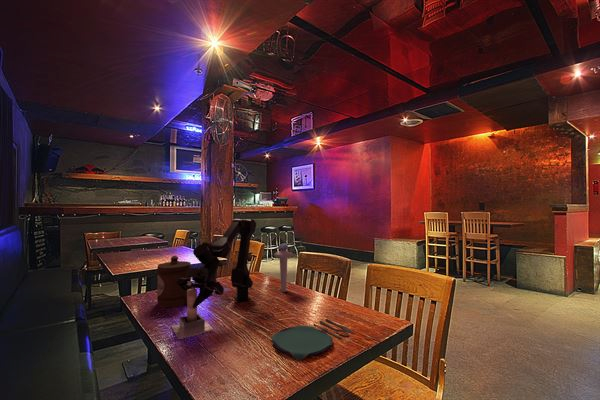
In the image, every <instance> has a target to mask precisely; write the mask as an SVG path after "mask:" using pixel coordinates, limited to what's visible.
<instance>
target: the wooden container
mask: <svg viewBox="0 0 600 400" xmlns="http://www.w3.org/2000/svg"><path fill="white" fill-rule="evenodd" d="M191 264H192V263H191V261H182V260H180V261H179V256H177V255H173V256H171V257H170V261H168V262H162V263H160V264H157V277H156V278H157V283H156V284H157V285H156V287H157V289H156V290H157V291H156V292H157V299H156V301H157V306H158V305H159V306H158V307H160V306H162V307H161V308H165V307H171V308H177V307H178V308H179V307H181V306H184V305H185V299H186V291H185V290H183V289H182V288H181V287H180V286H179V285H178V284H177V282H178V280H179V278H188V279H189V280H190V281H191V282H192V277H187V273H188V269H189V268H192V267H191V266H192V265H191Z"/></svg>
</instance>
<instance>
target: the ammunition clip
mask: <svg viewBox="0 0 600 400" xmlns="http://www.w3.org/2000/svg"><path fill="white" fill-rule="evenodd" d="M237 260H238V259H234V258H233V259H232V263H231V273H230V274H232V269H235V267H236V266H237Z"/></svg>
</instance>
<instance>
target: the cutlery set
mask: <svg viewBox="0 0 600 400" xmlns="http://www.w3.org/2000/svg"><path fill="white" fill-rule="evenodd" d="M326 322H328V323H330V324H331V325H333V326H335V327H336V328H337V327H338V328H341V329H336V328H334V327H333V326H331V325H329V324H328V323H326ZM319 324H321V325H324V326H327V327H328V328H330V329H331V330H333V331H335V333H334V332H332V331H329V330H328V328H326V327H322V326H320V325H319ZM319 324H318V325H317V324H315V323H313V326H312V325H295V326H291V327H287V328H283V329H282V330H278V331H277V332H275V333H273V335H272V338H271V340H270V341H271V342H272V343H273V345H274V347H275V348H276V349H277V350H279V351H280V352H282V353H285V354H289V355H292V356H293V358H295V360H297V361H303V360H304V358H306V357H307V356H309V357H310V356H316V355H318V354H322V353H324V352H326V351H327V350H329V349H330V347H332V346H333V345H334V344H333V337H334V338H337V339H339V340H343V337H347V336H349V334H351V335H354V334H356V332H355V331H353V330H351V329H349V328H348V327H347V326H344V325H340V324H337V323H336V322H334V321H333V320H331V319H329V318H325V322H324V321H323V320H319ZM314 326H315V327H314ZM316 327H318V328H316ZM339 332H342V333H345V334H346V335H344V334H341V333H339ZM331 335H332V336H333V337H332V336H331ZM341 336H342V337H341Z"/></svg>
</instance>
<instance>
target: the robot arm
mask: <svg viewBox="0 0 600 400" xmlns="http://www.w3.org/2000/svg"><path fill="white" fill-rule="evenodd" d="M256 228H257V222H256V221H255V219H254V218H253V219H252V218H233V219H232V220H231V224H230V225H229V226H228V228H227V229H226V230H225V232H224V234H223V235H222V236H221V237H220V238H219V239H216V240H215V241H214V242H212V243H213V244H212V245H211V246H209V244H208V243H209V242H207V241H202V243H201V244H199V245H198V246H196V247H194V249H193V251H192V254H193V255H194V257H195V258H196V259H197V260H198V261H199V262H200V263H201V264H202V267H200V268H194V267H191V268H189V269H188V273H187V277H191V281H190V280H189V279H188V278H179V280H178V282H177V284H178V285H179V286H180V287H181V288H182V289H183V290H185V291H186V299H185V305H183V306H184V307H185V308H187V290H188V289H199V292H198V293H197V298H196V300H195V302H194V305H193V308H196V307H197V308H198V306H199V305H201V304H202V303H203V302H205V301H206V300H207V299H209V298H210V297H212V296H213V293H214V294H215V295H217V296H222V295H223V293H224V292H225V289H224V286H223V285H222V284H221V283H220V282H219V281H212V279H215V273H216V271H217V270H218V269H219V268H222V267H223V262H222V260H221V258H222V259H225V258H227V256H228V255H229V253H230V251H231V244H232V243H233V241H234V240H235V238H236V236H237V235H238V233H239V235H240V240H239V246H238V247H239V248H238V254H237V259H236V260H237V266H236V267H235V269H232V268H231V270H232V274H231V273H230V274H231V275H230V281H231V286H232V288H236V296H235V297H233V299H234V300H235V301H237V302H238V303H241V302H245V301H246V302H247V301H251V300H252V298H251V297H250V296H249V289H251V288H252V287H253V284H254V283H253V282H254V281H253V279H252V278H251V277H250V270H249V268H248V262H249V261H248V260H249V255H250V245H251V240H252V239H251V238H252V236H253V235H254V234H255V232H256ZM219 258H220V259H219ZM203 264H204V265H203ZM217 272H218V271H217Z"/></svg>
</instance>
